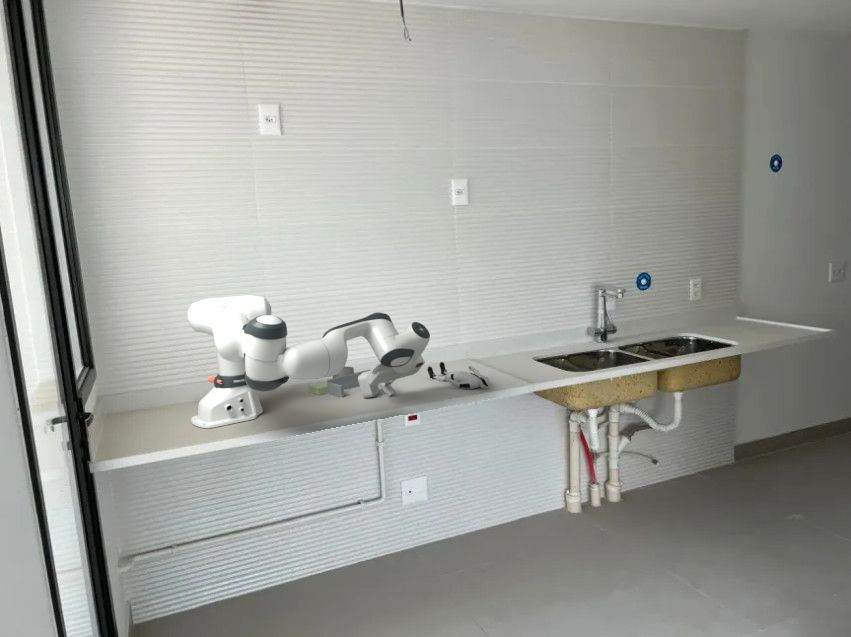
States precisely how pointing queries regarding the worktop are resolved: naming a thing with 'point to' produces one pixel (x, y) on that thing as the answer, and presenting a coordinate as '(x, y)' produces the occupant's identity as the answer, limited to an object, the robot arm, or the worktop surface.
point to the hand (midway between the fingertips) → (385, 384)
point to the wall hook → (372, 387)
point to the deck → (337, 383)
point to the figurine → (461, 378)
